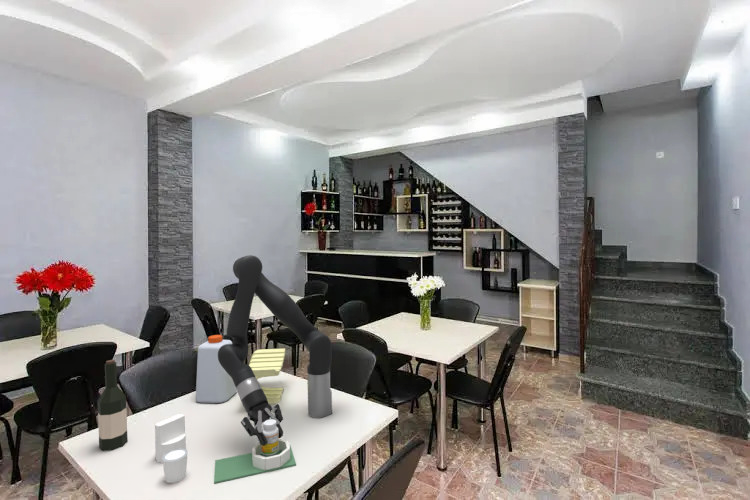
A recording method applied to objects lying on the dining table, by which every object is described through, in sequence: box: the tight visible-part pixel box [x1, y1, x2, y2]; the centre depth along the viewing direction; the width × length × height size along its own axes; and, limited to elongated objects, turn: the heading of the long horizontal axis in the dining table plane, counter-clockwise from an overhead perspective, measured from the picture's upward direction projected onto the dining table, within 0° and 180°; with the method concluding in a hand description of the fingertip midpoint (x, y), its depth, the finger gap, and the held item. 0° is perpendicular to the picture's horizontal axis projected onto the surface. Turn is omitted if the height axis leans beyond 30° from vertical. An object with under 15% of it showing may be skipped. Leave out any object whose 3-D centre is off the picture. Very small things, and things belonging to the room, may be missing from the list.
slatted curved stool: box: [248, 348, 286, 404], centre depth 173 cm, size 30×16×18 cm, turn 5°
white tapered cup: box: [162, 449, 188, 484], centre depth 116 cm, size 7×7×7 cm
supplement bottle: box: [262, 418, 280, 456], centre depth 124 cm, size 5×5×10 cm
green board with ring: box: [213, 438, 297, 485], centre depth 122 cm, size 24×12×4 cm, turn 111°
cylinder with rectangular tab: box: [154, 413, 187, 464], centre depth 128 cm, size 9×9×12 cm
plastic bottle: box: [195, 334, 238, 404], centre depth 174 cm, size 15×15×28 cm
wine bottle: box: [97, 359, 129, 452], centre depth 134 cm, size 8×8×30 cm
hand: (273, 440), depth 123 cm, fingers closed on supplement bottle, 5 cm apart
